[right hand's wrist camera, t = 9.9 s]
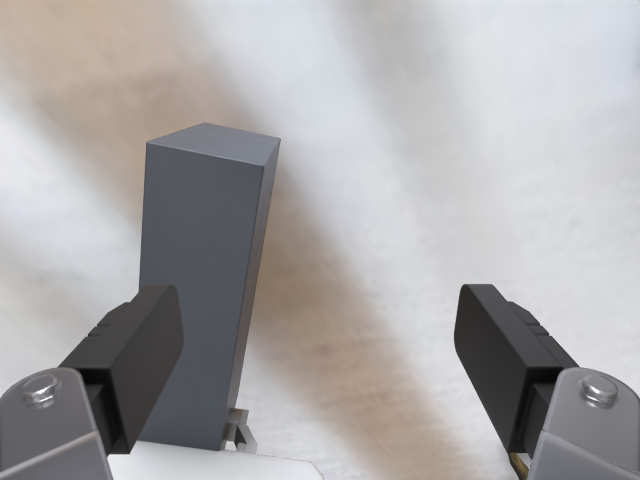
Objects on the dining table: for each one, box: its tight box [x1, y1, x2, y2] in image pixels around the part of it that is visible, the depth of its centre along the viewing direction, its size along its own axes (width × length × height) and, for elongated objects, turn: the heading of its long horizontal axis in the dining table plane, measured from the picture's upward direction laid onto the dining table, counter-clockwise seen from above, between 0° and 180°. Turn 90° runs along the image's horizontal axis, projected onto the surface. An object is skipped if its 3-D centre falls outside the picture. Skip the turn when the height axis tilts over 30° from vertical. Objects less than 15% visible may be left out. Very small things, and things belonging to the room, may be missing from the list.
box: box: [137, 123, 281, 451], centre depth 29 cm, size 25×6×11 cm, turn 168°
